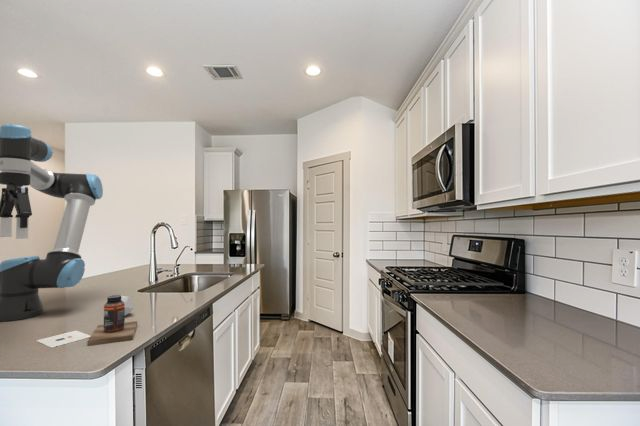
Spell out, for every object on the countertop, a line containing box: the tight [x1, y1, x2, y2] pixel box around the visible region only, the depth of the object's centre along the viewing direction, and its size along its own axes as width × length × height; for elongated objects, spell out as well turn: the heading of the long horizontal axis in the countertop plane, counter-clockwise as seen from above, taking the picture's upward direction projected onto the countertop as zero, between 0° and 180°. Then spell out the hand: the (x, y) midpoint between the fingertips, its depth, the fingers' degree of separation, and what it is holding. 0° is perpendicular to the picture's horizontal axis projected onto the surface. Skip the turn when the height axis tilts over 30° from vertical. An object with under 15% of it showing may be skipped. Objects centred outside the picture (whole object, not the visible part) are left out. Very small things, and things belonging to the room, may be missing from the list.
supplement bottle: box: [103, 294, 126, 332], centre depth 109 cm, size 6×6×11 cm
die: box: [121, 295, 134, 317], centre depth 129 cm, size 8×9×10 cm
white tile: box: [35, 330, 91, 349], centre depth 104 cm, size 11×11×1 cm
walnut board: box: [87, 320, 138, 347], centre depth 108 cm, size 16×12×2 cm
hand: (13, 237), depth 106 cm, fingers open, 13 cm apart
